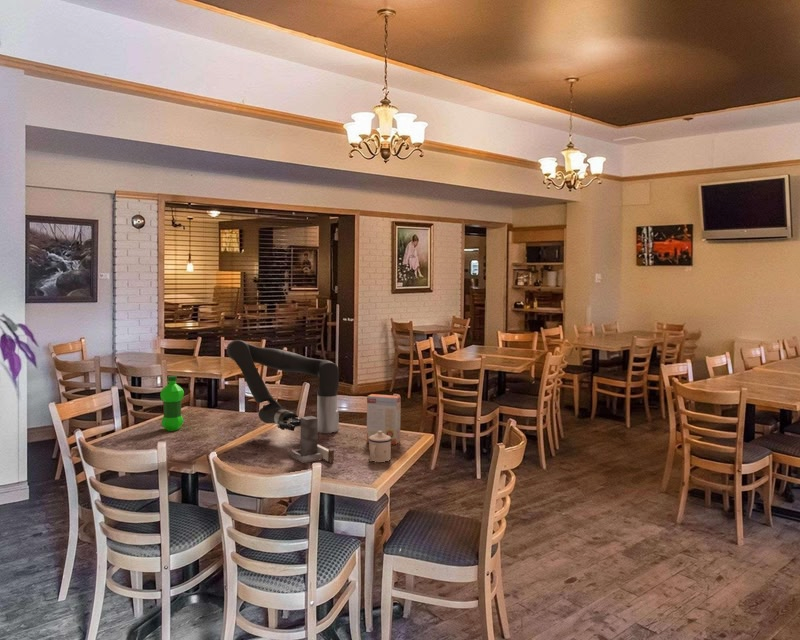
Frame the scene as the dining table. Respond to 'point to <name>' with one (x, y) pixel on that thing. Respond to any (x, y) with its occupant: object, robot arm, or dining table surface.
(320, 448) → the gate panel
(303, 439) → the post
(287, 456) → the dining table surface
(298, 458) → the grey open box
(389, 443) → the teacup with lid
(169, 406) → the plastic bottle
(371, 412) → the cracker box
